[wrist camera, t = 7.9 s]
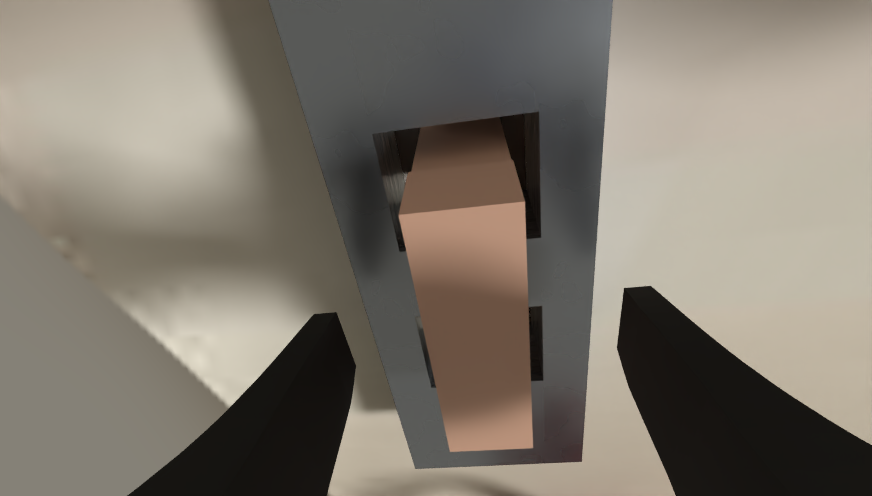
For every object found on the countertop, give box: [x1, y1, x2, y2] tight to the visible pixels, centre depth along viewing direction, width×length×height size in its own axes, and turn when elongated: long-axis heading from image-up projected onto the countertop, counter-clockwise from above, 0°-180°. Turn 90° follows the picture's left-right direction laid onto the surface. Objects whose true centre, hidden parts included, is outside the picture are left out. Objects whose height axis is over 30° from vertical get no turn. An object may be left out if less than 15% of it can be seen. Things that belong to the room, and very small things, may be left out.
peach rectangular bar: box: [399, 117, 533, 452], centre depth 13 cm, size 2×8×6 cm, turn 8°
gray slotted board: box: [269, 0, 613, 469], centre depth 14 cm, size 7×20×3 cm, turn 8°
